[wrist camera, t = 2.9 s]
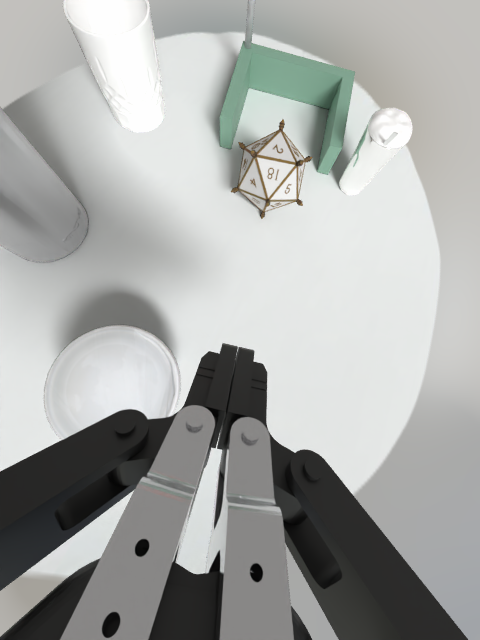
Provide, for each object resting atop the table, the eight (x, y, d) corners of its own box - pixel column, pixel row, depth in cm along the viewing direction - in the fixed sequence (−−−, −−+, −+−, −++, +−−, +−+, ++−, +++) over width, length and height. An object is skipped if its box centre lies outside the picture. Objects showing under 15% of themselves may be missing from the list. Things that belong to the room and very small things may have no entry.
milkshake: (327, 197, 33) (373, 123, 23) (339, 166, 34) (387, 83, 24) (359, 210, 33) (418, 142, 23) (370, 178, 34) (430, 101, 24)
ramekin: (207, 391, 27) (204, 396, 22) (119, 465, 25) (92, 490, 19) (146, 312, 28) (129, 299, 23) (57, 377, 26) (16, 378, 21)
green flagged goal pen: (219, 146, 33) (219, -181, 13) (240, 77, 36) (265, -280, 16) (327, 174, 33) (479, -102, 14) (340, 104, 36) (482, -212, 16)
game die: (250, 224, 35) (207, 197, 27) (262, 160, 34) (220, 110, 25) (312, 227, 31) (285, 196, 22) (328, 154, 30) (305, 90, 21)
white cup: (136, 80, 34) (102, -37, 24) (182, 110, 34) (166, 4, 24) (96, 115, 32) (43, 5, 23) (144, 147, 32) (110, 49, 22)
